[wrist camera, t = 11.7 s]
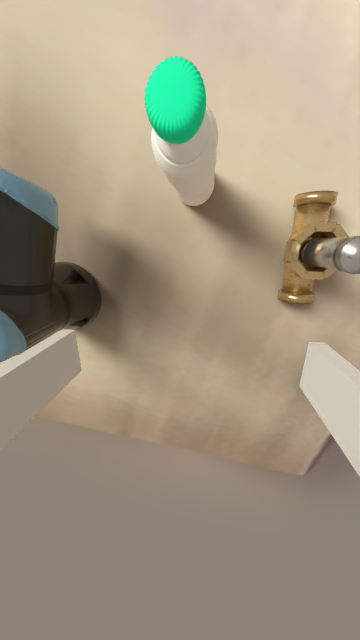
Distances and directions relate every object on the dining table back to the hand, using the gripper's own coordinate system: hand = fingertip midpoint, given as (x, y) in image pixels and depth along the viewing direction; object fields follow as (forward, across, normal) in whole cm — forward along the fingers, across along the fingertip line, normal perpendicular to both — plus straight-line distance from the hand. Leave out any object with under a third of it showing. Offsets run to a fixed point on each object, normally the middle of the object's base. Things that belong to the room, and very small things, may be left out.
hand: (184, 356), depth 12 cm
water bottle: (+34, -2, +16) cm, 38 cm away
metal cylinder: (+28, +18, +5) cm, 34 cm away
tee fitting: (+34, +18, +5) cm, 39 cm away
